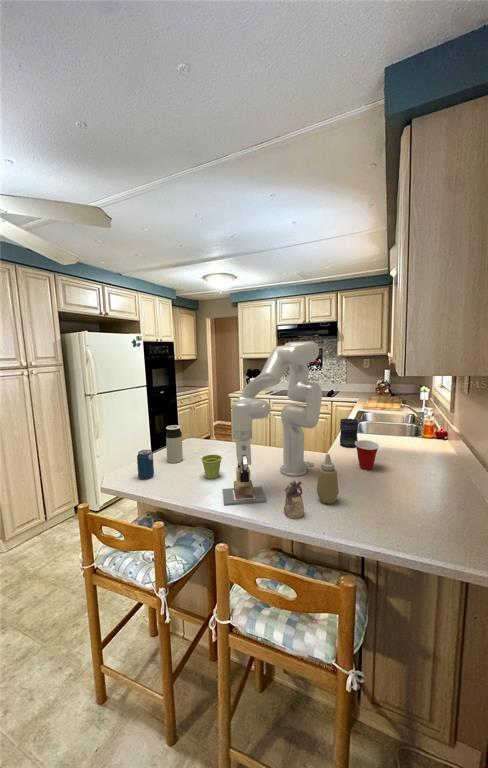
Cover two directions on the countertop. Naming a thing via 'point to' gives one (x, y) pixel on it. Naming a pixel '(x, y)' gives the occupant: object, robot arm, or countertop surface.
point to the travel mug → (174, 444)
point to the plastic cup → (366, 453)
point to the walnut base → (243, 491)
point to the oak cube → (239, 484)
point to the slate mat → (230, 498)
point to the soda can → (145, 464)
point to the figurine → (293, 500)
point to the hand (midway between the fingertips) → (243, 476)
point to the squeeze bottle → (327, 482)
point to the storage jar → (348, 433)
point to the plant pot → (211, 465)
